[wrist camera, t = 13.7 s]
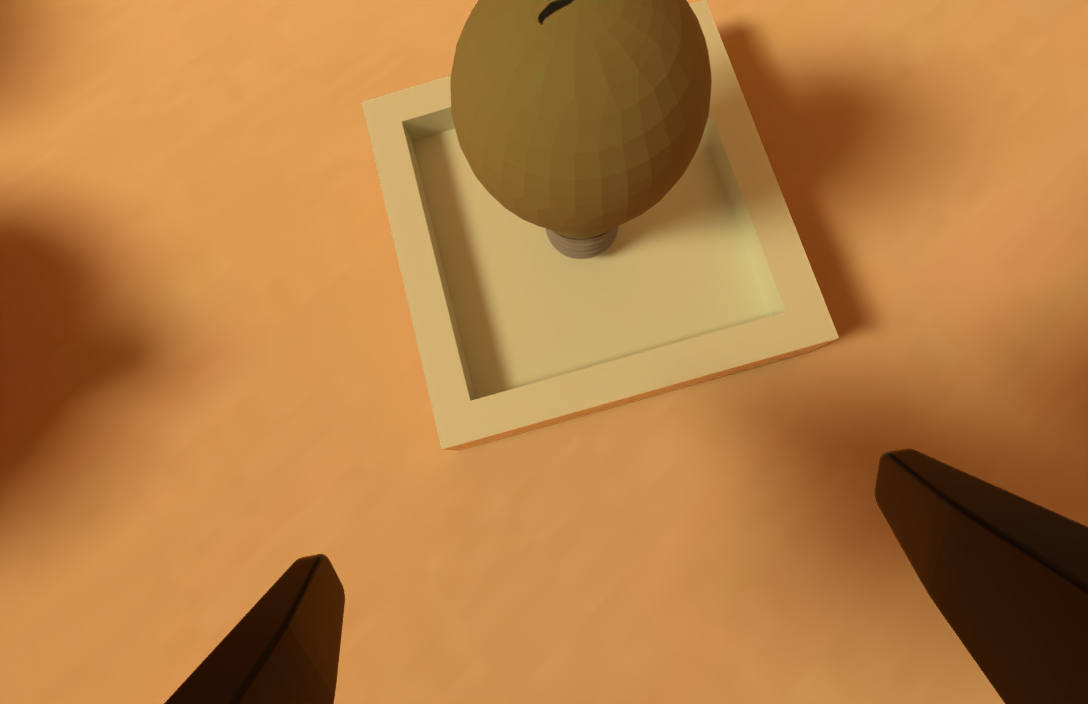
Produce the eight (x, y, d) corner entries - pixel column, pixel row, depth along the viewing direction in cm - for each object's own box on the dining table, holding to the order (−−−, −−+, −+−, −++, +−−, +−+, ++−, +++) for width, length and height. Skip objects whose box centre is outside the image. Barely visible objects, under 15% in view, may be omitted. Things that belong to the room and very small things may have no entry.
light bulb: (568, 129, 20) (550, -187, 10) (697, 216, 19) (813, -43, 9) (468, 246, 20) (350, 30, 10) (596, 343, 19) (607, 209, 9)
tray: (810, 352, 19) (838, 337, 17) (458, 450, 19) (441, 449, 17) (694, 45, 21) (705, -1, 19) (384, 137, 22) (361, 101, 20)
